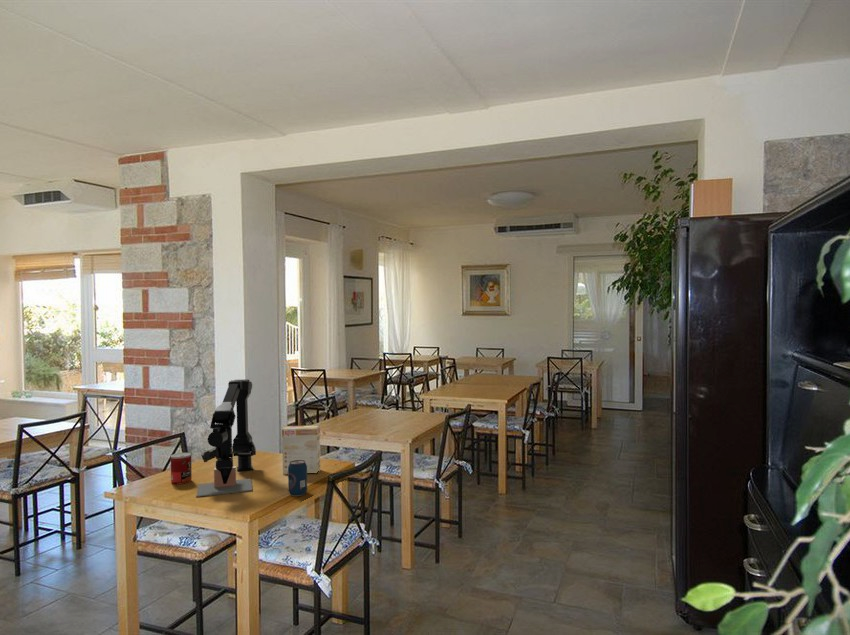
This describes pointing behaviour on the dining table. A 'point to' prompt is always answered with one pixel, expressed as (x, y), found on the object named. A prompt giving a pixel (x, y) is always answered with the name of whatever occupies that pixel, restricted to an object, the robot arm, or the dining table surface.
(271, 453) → the dining table surface
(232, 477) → the slab
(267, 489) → the dining table surface
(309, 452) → the coffeecake box
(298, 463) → the soda can
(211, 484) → the mat
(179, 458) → the canned food
